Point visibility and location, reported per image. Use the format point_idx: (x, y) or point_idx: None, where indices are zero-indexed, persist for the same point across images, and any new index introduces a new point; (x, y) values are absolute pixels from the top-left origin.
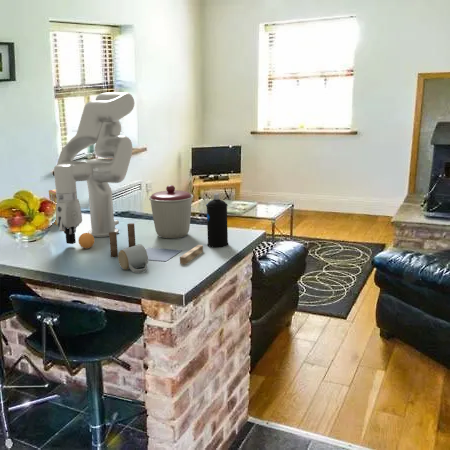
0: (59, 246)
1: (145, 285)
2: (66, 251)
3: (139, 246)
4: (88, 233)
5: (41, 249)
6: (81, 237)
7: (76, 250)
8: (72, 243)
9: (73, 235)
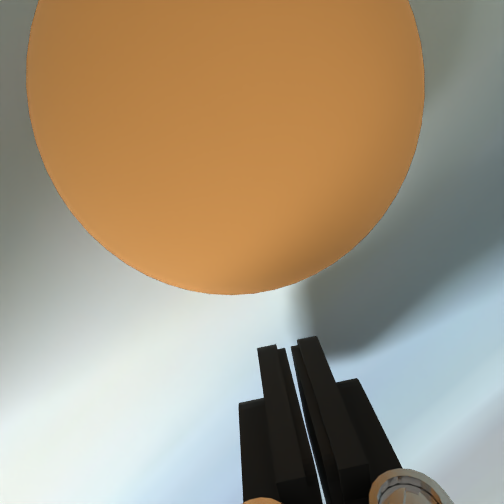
0: None
1: None
2: (474, 245)
3: None
4: (179, 31)
5: (489, 495)
6: (415, 122)
7: None
8: (317, 344)
9: (308, 442)
